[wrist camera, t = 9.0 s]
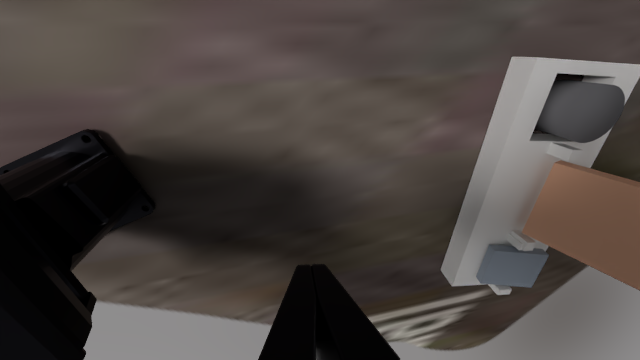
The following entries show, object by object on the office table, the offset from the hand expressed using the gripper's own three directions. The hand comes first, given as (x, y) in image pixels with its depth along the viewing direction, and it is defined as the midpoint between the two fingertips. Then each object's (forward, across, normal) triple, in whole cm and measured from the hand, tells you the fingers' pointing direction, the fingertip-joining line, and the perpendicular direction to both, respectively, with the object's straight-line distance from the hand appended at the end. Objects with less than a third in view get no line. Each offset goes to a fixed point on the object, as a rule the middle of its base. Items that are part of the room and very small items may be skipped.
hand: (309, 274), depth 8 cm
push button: (+12, -18, -4) cm, 22 cm away
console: (+12, -18, +3) cm, 22 cm away
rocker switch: (+9, -18, +9) cm, 23 cm away
